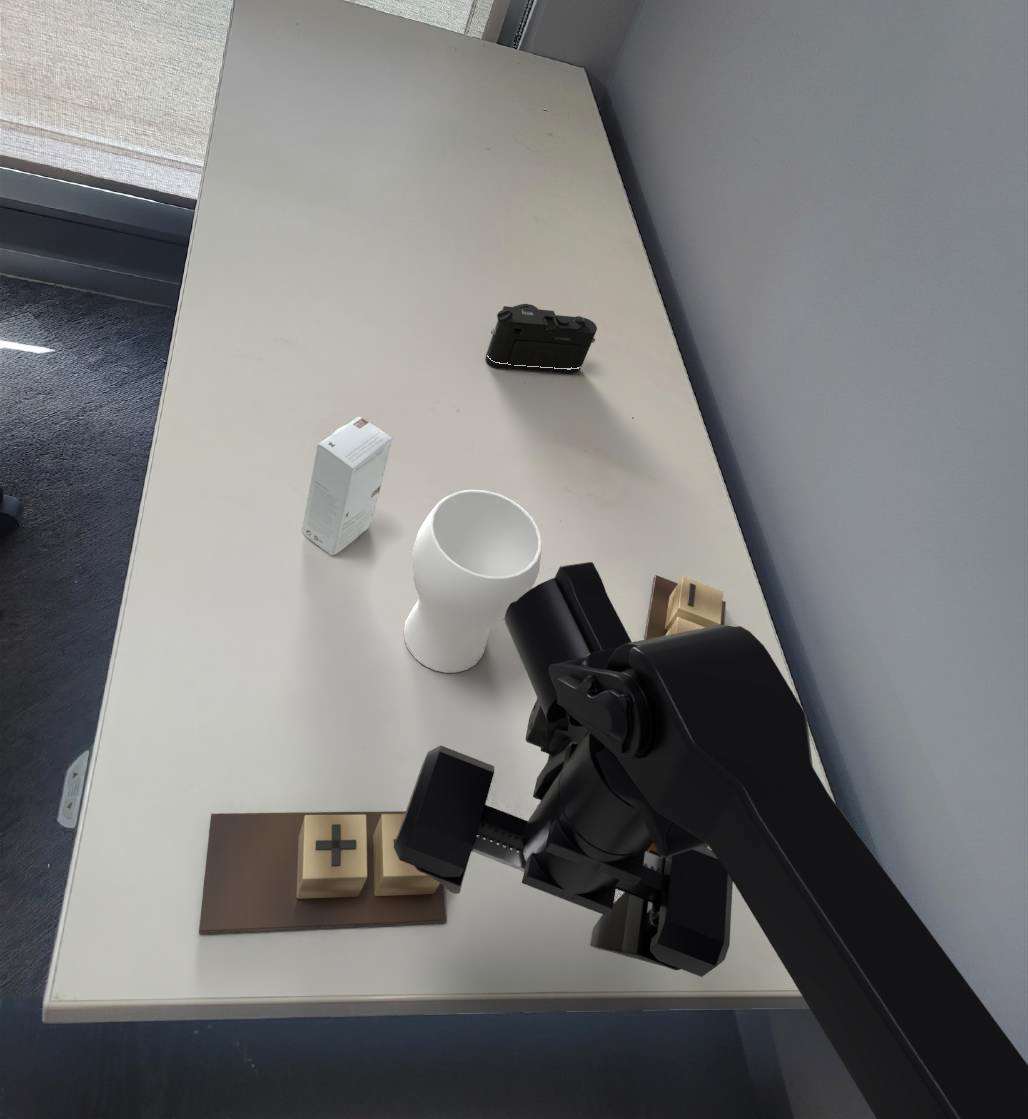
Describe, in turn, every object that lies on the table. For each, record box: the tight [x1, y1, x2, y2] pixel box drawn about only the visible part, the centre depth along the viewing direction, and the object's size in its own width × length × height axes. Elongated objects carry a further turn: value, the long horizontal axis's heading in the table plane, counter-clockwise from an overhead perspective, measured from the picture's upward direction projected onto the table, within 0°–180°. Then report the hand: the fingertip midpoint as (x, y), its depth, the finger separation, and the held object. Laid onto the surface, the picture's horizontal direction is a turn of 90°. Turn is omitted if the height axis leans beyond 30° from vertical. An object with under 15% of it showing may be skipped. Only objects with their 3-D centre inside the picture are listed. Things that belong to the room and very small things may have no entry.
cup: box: [403, 489, 543, 674], centre depth 79 cm, size 11×11×15 cm
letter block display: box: [643, 574, 727, 852], centre depth 84 cm, size 30×8×4 cm, turn 165°
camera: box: [484, 303, 598, 375], centre depth 117 cm, size 14×7×8 cm, turn 103°
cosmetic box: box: [301, 416, 393, 556], centre depth 85 cm, size 6×4×12 cm
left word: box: [198, 810, 447, 935], centre depth 65 cm, size 17×8×4 cm, turn 97°
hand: (524, 911), depth 56 cm, fingers open, 9 cm apart
